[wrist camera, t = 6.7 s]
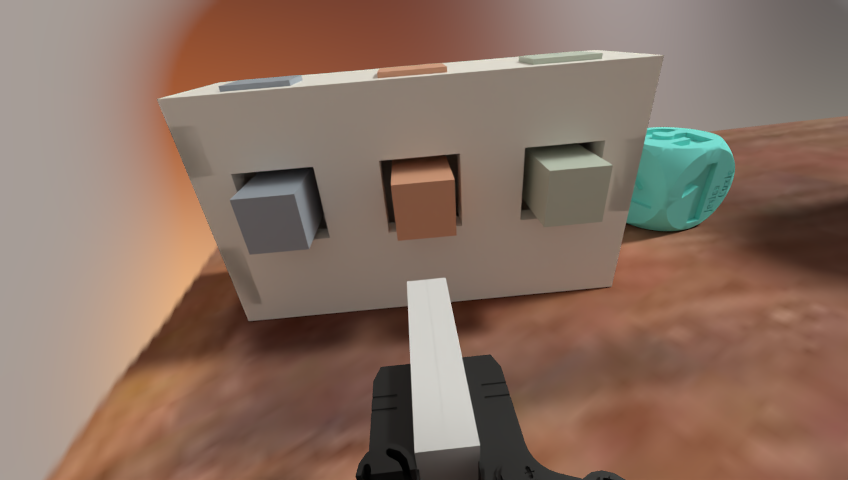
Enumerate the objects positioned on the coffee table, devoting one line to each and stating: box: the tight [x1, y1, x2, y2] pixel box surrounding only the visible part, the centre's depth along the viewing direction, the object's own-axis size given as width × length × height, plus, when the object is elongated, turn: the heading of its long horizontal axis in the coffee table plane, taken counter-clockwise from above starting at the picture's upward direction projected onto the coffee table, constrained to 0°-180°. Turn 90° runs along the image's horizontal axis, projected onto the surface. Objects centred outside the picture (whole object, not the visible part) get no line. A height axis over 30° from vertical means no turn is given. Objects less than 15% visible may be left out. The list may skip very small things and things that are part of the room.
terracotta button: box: [391, 155, 457, 241], centre depth 23 cm, size 4×5×4 cm
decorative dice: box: [626, 127, 735, 231], centre depth 36 cm, size 8×8×8 cm
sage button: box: [522, 143, 613, 227], centre depth 24 cm, size 4×5×4 cm
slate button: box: [230, 167, 324, 255], centre depth 23 cm, size 4×5×4 cm
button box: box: [157, 50, 664, 321], centre depth 27 cm, size 28×8×16 cm, turn 93°
